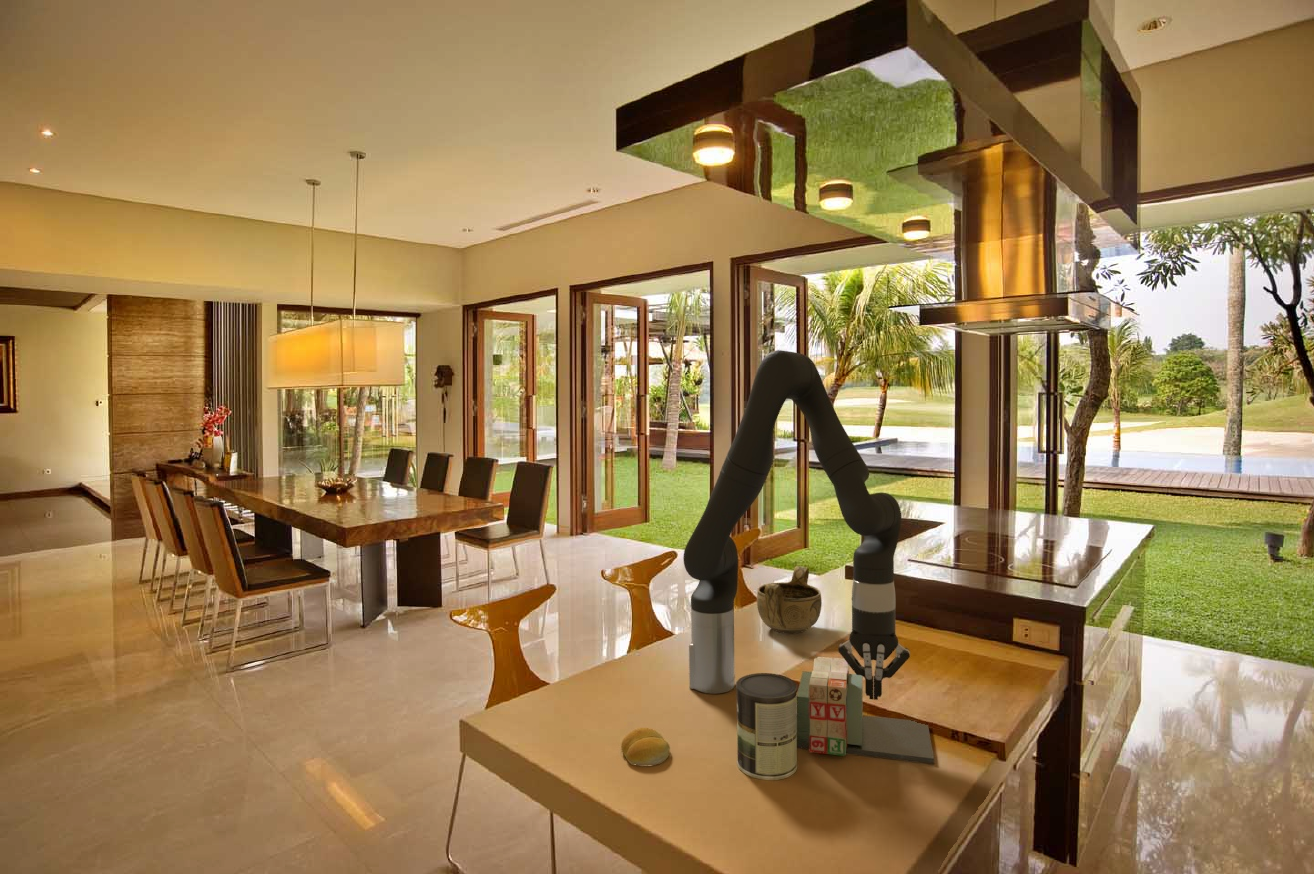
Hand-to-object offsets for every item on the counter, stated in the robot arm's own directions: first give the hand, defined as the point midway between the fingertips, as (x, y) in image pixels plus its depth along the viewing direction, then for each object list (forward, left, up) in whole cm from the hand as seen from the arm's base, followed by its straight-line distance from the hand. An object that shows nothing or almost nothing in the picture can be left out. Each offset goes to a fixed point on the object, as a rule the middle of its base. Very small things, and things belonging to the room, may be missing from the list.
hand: (873, 697), depth 132 cm
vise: (-2, 0, -8) cm, 8 cm away
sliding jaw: (-3, 0, -6) cm, 7 cm away
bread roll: (-39, -16, -8) cm, 43 cm away
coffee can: (-18, -14, -8) cm, 24 cm away
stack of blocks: (-8, +1, -7) cm, 10 cm away
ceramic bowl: (-21, +56, -8) cm, 61 cm away
